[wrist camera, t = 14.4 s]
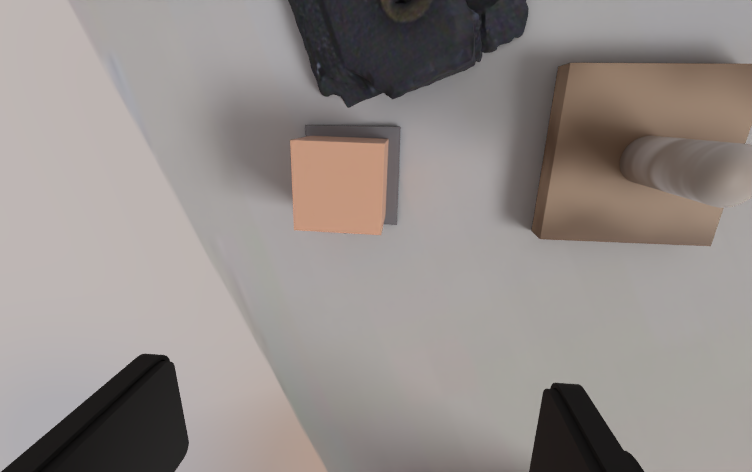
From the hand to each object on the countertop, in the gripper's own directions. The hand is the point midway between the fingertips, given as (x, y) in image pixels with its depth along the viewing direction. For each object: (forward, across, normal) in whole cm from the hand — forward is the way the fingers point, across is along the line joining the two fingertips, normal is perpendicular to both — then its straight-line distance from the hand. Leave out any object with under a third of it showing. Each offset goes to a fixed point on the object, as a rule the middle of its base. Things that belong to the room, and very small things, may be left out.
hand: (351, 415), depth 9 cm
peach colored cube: (+21, +4, -3) cm, 21 cm away
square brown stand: (+22, -17, -5) cm, 28 cm away
